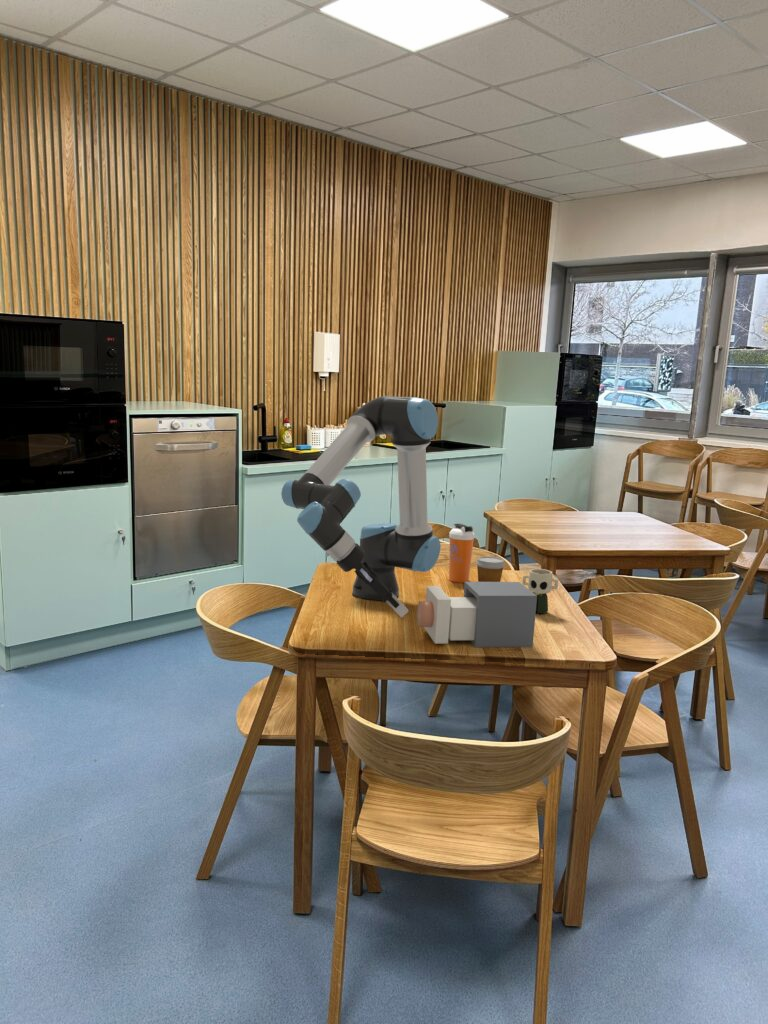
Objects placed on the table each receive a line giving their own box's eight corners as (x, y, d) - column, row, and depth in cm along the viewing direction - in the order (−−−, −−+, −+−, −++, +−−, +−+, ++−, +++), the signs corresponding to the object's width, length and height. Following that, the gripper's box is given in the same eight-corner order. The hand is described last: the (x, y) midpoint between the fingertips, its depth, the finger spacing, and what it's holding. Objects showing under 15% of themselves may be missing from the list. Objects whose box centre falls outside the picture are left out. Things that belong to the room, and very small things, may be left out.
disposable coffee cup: (501, 591, 257) (504, 557, 255) (503, 599, 248) (506, 563, 246) (473, 589, 258) (476, 555, 256) (474, 597, 248) (476, 561, 246)
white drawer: (423, 643, 198) (426, 599, 196) (413, 627, 210) (416, 586, 208) (500, 642, 202) (503, 599, 200) (485, 627, 214) (488, 586, 212)
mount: (475, 647, 200) (479, 595, 198) (461, 630, 214) (464, 581, 211) (532, 646, 203) (537, 595, 200) (514, 629, 216) (518, 581, 214)
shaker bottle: (457, 575, 275) (460, 522, 272) (476, 581, 269) (480, 526, 266) (441, 579, 269) (444, 524, 266) (460, 584, 263) (464, 528, 259)
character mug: (518, 612, 234) (521, 571, 232) (522, 606, 241) (525, 566, 238) (553, 617, 230) (557, 576, 228) (556, 611, 237) (560, 571, 235)
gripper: (332, 556, 203) (390, 615, 209) (337, 568, 190) (399, 630, 196) (352, 537, 203) (409, 597, 209) (359, 547, 190) (420, 611, 196)
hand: (404, 613), depth 202 cm, fingers closed
